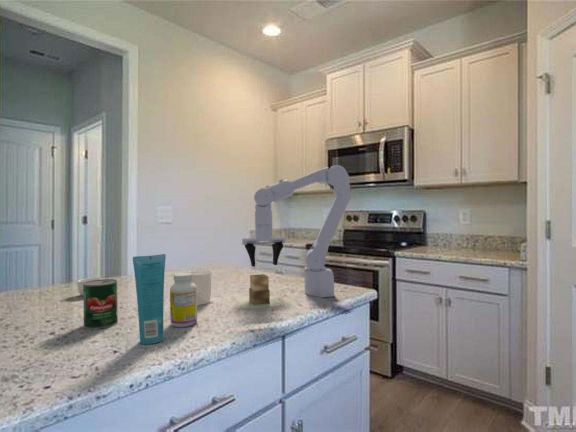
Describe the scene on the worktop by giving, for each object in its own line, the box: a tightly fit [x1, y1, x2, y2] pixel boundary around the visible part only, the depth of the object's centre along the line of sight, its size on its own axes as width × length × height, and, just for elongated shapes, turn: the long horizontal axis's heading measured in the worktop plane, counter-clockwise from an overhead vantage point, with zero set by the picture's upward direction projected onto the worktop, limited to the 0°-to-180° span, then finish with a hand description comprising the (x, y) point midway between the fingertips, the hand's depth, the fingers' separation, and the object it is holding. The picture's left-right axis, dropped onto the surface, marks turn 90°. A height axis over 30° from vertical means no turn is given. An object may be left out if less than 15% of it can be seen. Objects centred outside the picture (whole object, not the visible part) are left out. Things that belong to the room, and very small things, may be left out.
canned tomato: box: [82, 278, 119, 330], centre depth 96 cm, size 8×8×11 cm
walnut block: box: [248, 287, 271, 305], centre depth 113 cm, size 5×5×4 cm
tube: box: [132, 253, 167, 345], centre depth 83 cm, size 7×5×19 cm, turn 140°
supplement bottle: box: [169, 272, 198, 328], centre depth 95 cm, size 7×7×13 cm
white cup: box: [186, 270, 212, 306], centre depth 114 cm, size 8×8×10 cm
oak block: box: [249, 273, 270, 291], centre depth 113 cm, size 4×4×4 cm
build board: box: [235, 295, 285, 310], centre depth 113 cm, size 12×12×1 cm
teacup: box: [77, 277, 103, 297], centre depth 131 cm, size 10×8×5 cm
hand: (264, 265), depth 125 cm, fingers open, 7 cm apart
